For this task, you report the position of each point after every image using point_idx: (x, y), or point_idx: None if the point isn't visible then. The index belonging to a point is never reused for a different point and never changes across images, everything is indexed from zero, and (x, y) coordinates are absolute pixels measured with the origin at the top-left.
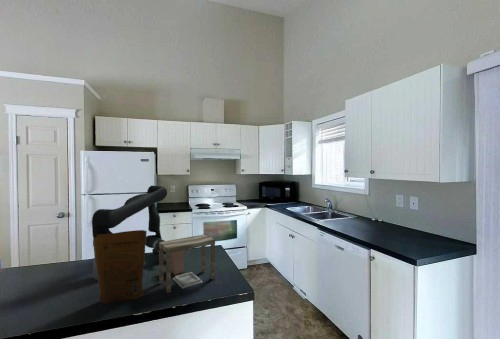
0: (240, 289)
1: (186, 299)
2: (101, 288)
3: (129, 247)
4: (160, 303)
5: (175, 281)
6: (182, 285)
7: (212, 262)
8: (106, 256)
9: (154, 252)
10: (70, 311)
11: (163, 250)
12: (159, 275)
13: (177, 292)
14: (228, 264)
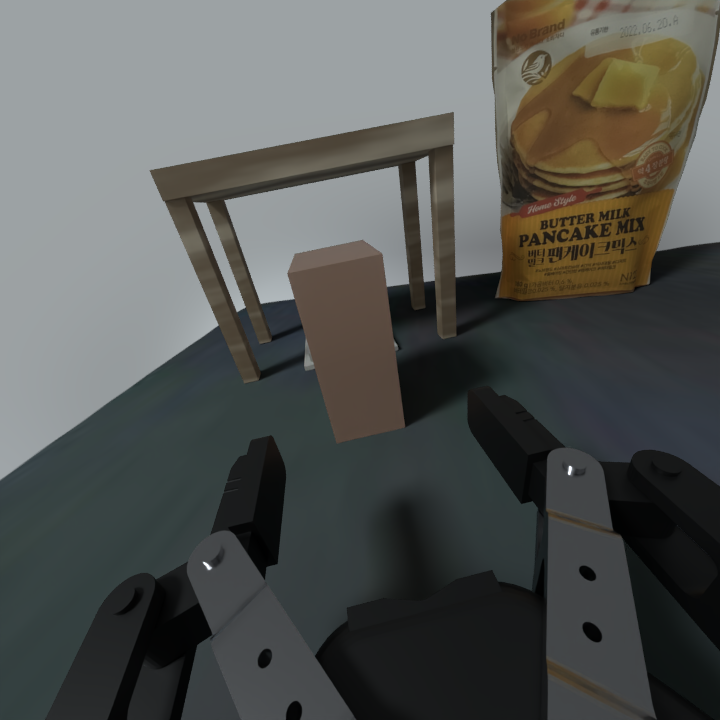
0: None
1: None
2: (649, 237)
3: (557, 80)
4: None
5: None
6: None
7: (250, 278)
8: (658, 93)
9: (671, 469)
10: (706, 266)
11: (501, 587)
12: (453, 301)
13: (393, 305)
14: (98, 417)
